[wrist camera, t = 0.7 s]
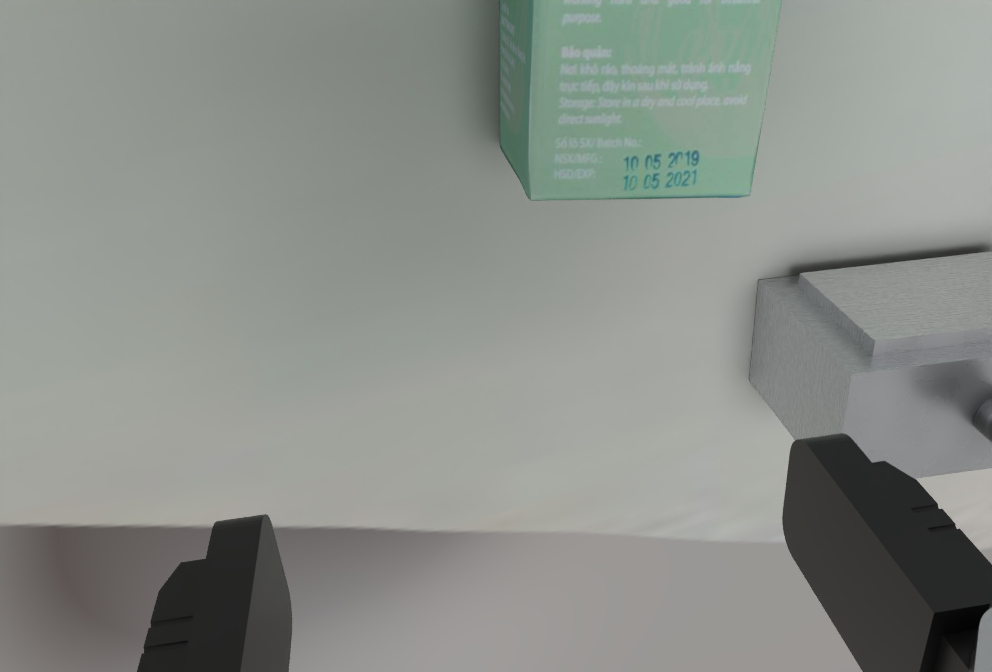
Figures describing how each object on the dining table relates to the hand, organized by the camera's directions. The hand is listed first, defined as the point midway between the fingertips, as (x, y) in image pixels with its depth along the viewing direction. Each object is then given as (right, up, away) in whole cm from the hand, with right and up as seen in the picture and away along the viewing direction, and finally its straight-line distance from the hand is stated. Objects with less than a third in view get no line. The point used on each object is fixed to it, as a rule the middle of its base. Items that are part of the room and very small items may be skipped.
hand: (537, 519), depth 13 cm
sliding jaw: (+16, +4, +25) cm, 30 cm away
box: (+3, +16, +17) cm, 24 cm away
